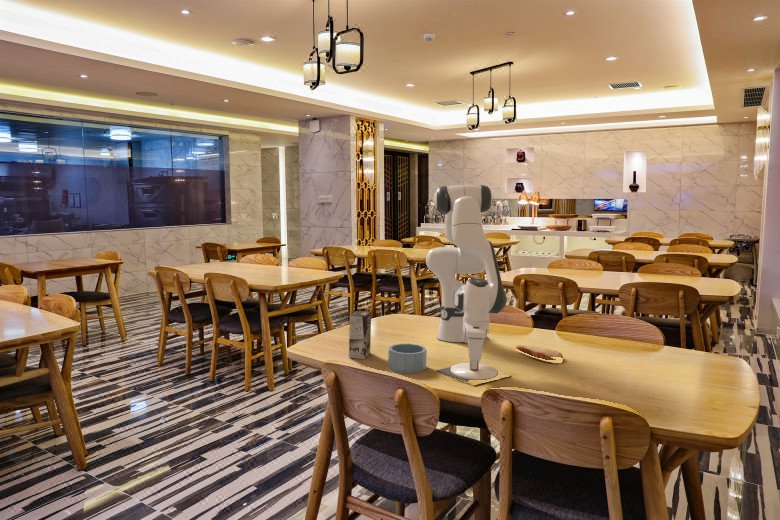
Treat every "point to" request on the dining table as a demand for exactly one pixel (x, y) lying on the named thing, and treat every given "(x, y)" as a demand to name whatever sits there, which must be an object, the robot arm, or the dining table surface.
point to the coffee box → (360, 334)
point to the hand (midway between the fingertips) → (474, 366)
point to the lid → (473, 371)
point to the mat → (447, 372)
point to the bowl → (407, 358)
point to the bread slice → (539, 352)
